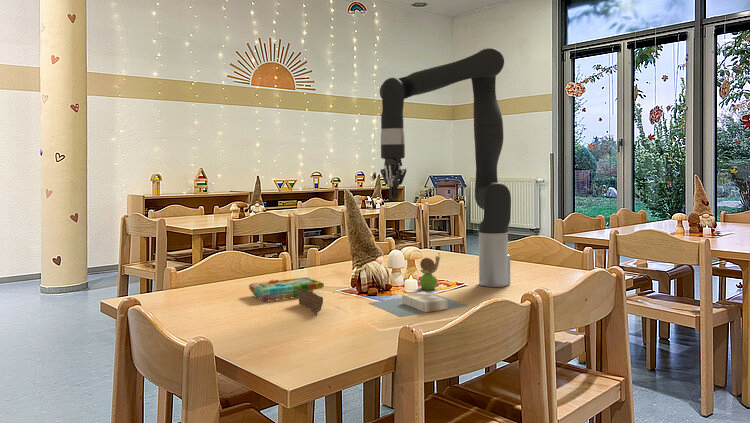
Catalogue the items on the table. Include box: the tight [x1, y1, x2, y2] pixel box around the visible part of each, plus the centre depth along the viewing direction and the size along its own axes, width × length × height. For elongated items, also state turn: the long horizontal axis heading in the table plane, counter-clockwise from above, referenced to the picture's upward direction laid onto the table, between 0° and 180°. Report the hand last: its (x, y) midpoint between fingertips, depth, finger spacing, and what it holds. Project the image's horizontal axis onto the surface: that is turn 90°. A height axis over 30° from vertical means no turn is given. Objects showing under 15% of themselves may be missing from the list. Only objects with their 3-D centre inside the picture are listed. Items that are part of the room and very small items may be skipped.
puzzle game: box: [248, 277, 325, 302], centre depth 179 cm, size 12×5×20 cm
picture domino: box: [401, 291, 448, 313], centre depth 159 cm, size 7×3×12 cm
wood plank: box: [297, 288, 324, 317], centre depth 160 cm, size 15×2×5 cm, turn 31°
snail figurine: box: [419, 252, 441, 291], centre depth 181 cm, size 5×6×12 cm
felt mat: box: [368, 293, 470, 318], centre depth 162 cm, size 22×18×1 cm
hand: (393, 198), depth 183 cm, fingers closed
